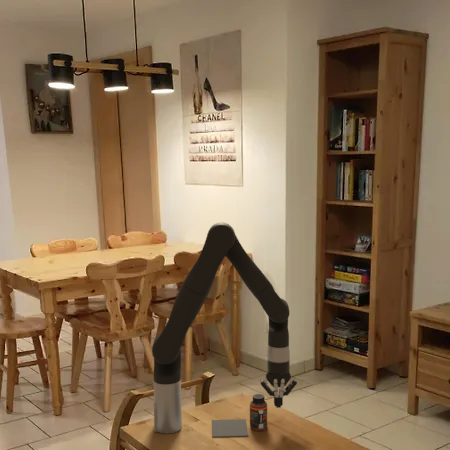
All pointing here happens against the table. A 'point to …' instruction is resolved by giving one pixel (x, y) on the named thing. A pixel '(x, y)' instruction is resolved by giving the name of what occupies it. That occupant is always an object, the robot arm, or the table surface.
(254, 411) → the supplement bottle
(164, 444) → the table surface
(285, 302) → the robot arm
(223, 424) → the mat
